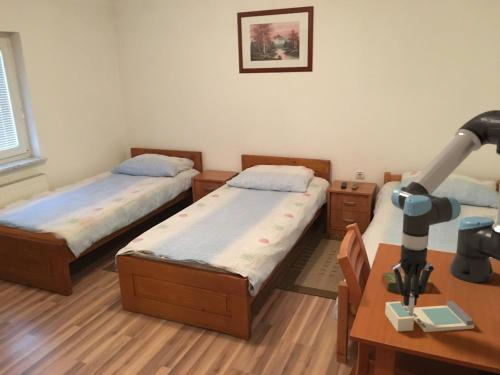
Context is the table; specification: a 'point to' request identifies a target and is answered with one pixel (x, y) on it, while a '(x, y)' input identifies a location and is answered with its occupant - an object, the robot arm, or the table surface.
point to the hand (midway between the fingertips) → (409, 313)
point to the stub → (399, 316)
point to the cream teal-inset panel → (442, 318)
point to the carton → (391, 285)
